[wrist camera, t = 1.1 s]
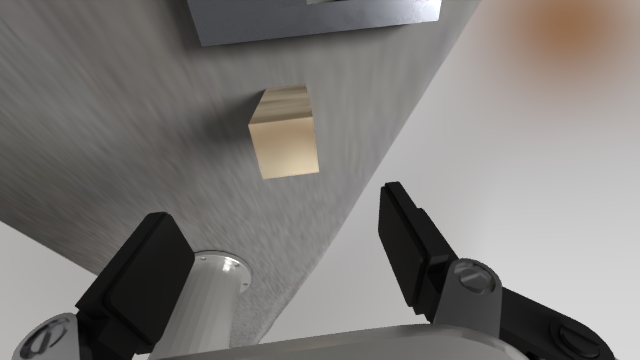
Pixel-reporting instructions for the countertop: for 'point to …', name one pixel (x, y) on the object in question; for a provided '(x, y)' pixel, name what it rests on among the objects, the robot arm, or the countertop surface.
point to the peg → (284, 133)
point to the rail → (299, 17)
